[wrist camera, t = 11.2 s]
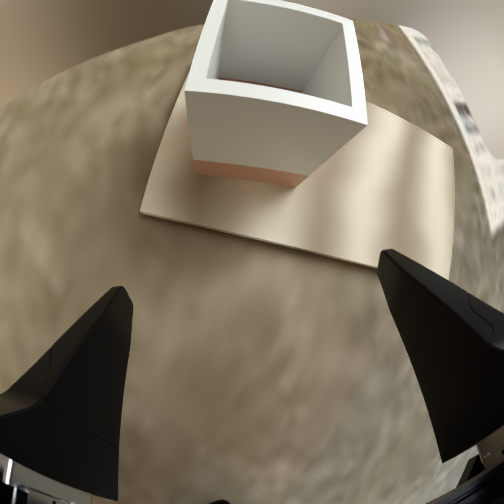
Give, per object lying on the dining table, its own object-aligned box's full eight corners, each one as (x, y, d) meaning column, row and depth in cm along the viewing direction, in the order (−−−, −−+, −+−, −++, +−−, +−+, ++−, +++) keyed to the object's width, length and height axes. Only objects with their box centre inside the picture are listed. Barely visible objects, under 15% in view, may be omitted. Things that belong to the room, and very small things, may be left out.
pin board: (446, 151, 21) (473, 138, 17) (439, 284, 20) (472, 286, 16) (198, 60, 18) (198, 26, 14) (143, 214, 17) (125, 200, 13)
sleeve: (300, 105, 18) (352, 20, 9) (296, 187, 18) (367, 125, 9) (210, 91, 17) (216, -9, 8) (195, 174, 17) (184, 90, 8)
